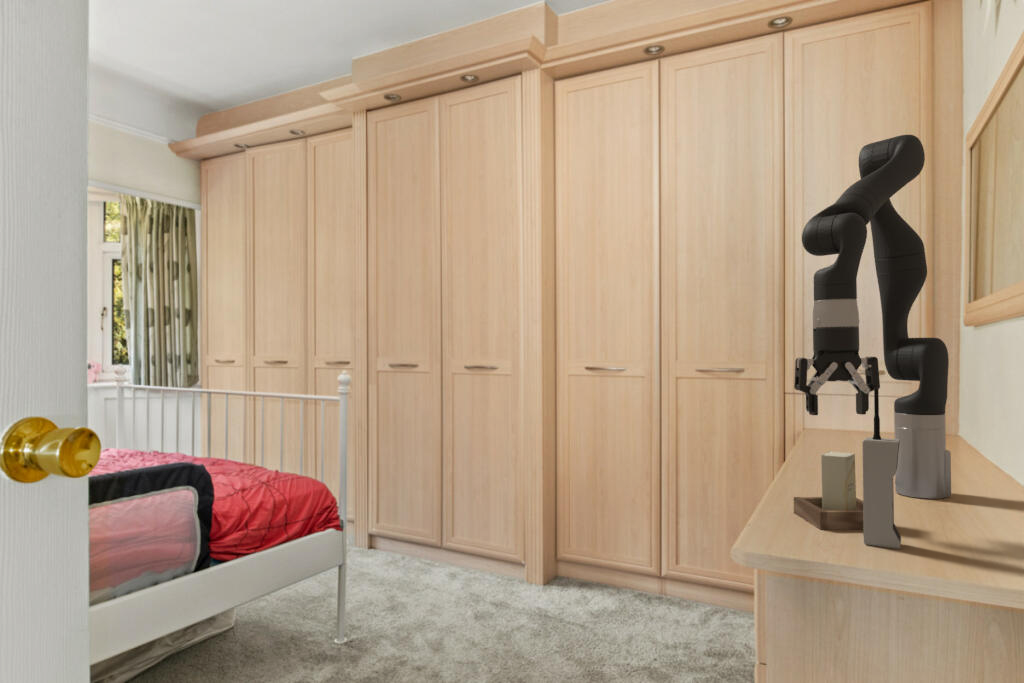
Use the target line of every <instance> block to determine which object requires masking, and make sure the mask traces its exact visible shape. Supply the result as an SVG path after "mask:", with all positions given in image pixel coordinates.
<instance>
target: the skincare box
mask: <svg viewBox="0 0 1024 683" xmlns="http://www.w3.org/2000/svg"><path fill="white" fill-rule="evenodd" d="M855 454H856V453H855V452H842V451H832V450H831V451H828V452H826V453H825V452H824V453H823V454H821V455H820V458H821V459H820V461H821V462H820V463H821V464H820V465H821V466H820V467H821V497H822V510H856V498H857V483H856V482H857V480H856V479H857V478H856V455H855Z"/></svg>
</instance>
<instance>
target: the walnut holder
mask: <svg viewBox="0 0 1024 683" xmlns="http://www.w3.org/2000/svg"><path fill="white" fill-rule="evenodd" d="M793 514H795V515H796V514H797V517H799V518H802V520H804V521H806V522H808V523H809V524H811V525H812V524H813V525H812V526H814V527H816V528H818V529H819V531H821V530H824V531H825V530H832V531H833V530H834V531H835V530H839V531H840V530H842V531H843V530H848V531H850V530H852V531H853V530H855V531H856V530H858V531H859V530H862V531H864V520H863V500H862V499H860V498H858V497H856V510H822V496H793Z"/></svg>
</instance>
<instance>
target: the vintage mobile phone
mask: <svg viewBox="0 0 1024 683" xmlns="http://www.w3.org/2000/svg"><path fill="white" fill-rule="evenodd" d="M879 393H880V392H879V389H878V388H874V391H873V398H874V400H873V401H874V408H873V409H874V413H873V414H874V416H873V436H872V437H867V436H866V437H865V438H864V439H863V441H862V444H861V445H862V499H863V500H862V501H863V520H864V530H863V543H864V545H866V546H873V547H877V548H878V547H881V548H887V549H893V550H899V549H901V544H902V536H901V534H900V532H899V530H898V529H897V526H896V525H895V512H894V511H895V507H894V506H895V504H894V503H895V501H894V499H895V498H894V491H895V490H894V477H895V473H896V470H897V464H898V453H899V442H900V439H895V438H884V437H883V438H882V436H881V419H880V414H879V413H880V407H879V406H880V405H879V403H880V402H879V397H880V396H879Z"/></svg>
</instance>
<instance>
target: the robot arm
mask: <svg viewBox="0 0 1024 683" xmlns="http://www.w3.org/2000/svg"><path fill="white" fill-rule="evenodd" d="M925 154H926V153H925V148H924V145H923V144H922V142H921V140H920V139H919V137H917V136H916V135H914V134H901V135H898V136H897V135H896V136H894V137H889V138H886V139H882V140H879V141H875V142H874V141H873V142H871V143H868V144H866V145H863V146H862V148H861V149H860V151H859V155H858V170H859V176H860V179H859V180H857V181H856V182H854V183H852V184H851V185H850V186H849V187H847V189H846V190H845V191H844V192H843V193H842V194H841V195H840V196H839V197H838V198H837V200H836V201H835V202H834V203H833V204H831V205H829V206H828V207H825V208H824V209H823V210H821V211H820V212H818V213H817V214H815V215H813V216H812V217H811V218H810V219H809V220H808V221H807V223H806V224H805V225H804V228H803V230H802V233H801V243H802V247H803V248H804V250H805V251H806V252H808V254H810V255H812V256H816V257H823V256H831V255H838V256H837V258H836V259H835V261H834V263H833V264H831V265H828V266H827V267H823V268H820V269H818V270H816V271H815V273H814V274H813V307H812V349H813V356H812V358H806V357H797V358H795V362H794V363H795V364H794V386H793V387H794V389H795V390H796V391H800V392H802V393H804V394H805V409H806V412H808V413H809V415H810V416H818V415H819V401H818V400H819V398H818V397H819V396H818V394H817V392H818V391H819V390H820V388H821V387H822V386H824V384H825V383H826V382H837V381H838V382H848V383H849V384H850V385H851V386H852V387H853V388H854V389H855V391H856V393H855V412H856V414H857V415H862V416H863V415H866V414H867V412H868V411H869V409H870V404H869V403H870V402H869V399H870V398H869V395H870V393H871V392H874V388H878V390H879V389H881V385H880V384H881V383H880V371H879V368H880V367H879V360H878V357H877V356H865V357H861V356H860V354H859V352H860V316H859V315H860V314H859V307H858V300H857V299H858V289H857V288H858V287H857V286H858V284H857V277H858V272H859V268H860V263H861V260H862V257H863V256H862V255H863V252H864V249H865V245H866V242H867V238H868V227H867V225H868V224H869V223H870V230H871V236H872V238H871V239H872V246H873V247H872V248H873V258H874V266H875V272H876V273H875V274H876V278H877V285H878V291H879V299H880V307H881V317H882V318H881V319H882V341H883V342H882V343H883V344H882V345H883V346H882V347H883V348H882V349H883V358H884V359H883V360H884V366H885V369H886V372H887V373H888V375H889V376H890V378H892V379H893V380H895V381H910V382H912V381H914V382H919V385H918V389H917V390H916V391H914V392H912V393H911V394H908V395H906V396H901V397H898V398H896V399H895V400H894V403H893V410H894V412H893V416H894V417H893V418H894V422H893V423H894V439H900V442H899V453H898V464H897V470H896V473H895V475H894V477H895V479H894V485H895V486H894V488H895V490H894V491H895V493H897V494H899V495H903V496H906V497H913V498H918V499H919V498H920V499H944V498H952V459H951V458H952V456H951V455H952V453H951V451H950V450H948V449H947V438H946V437H947V436H946V435H947V433H946V432H947V431H946V406H947V401H948V384H949V382H948V381H949V368H950V367H949V366H950V365H949V362H950V361H949V352H948V351H949V350H948V348H947V345H946V343H945V342H944V341H943V340H942V339H941V338H939V337H909V332H908V322H909V320H908V319H909V314H910V312H911V310H912V307H913V305H914V303H915V301H916V300H917V298H918V296H919V294H920V292H921V291H922V288H923V286H924V284H925V283H926V281H927V280H926V279H927V276H928V266H927V258H926V257H927V256H926V250H925V244H924V242H923V240H922V238H921V237H920V235H919V234H918V233H917V231H915V230H914V229H913V227H912V226H911V225H910V224H909V223H908V222H907V221H906V220H904V218H903V217H901V215H900V214H899V213H898V211H897V210H896V208H894V206H893V203H892V201H891V198H892V197H893V196H894V195H895V194H897V193H898V192H899V191H900V190H902V189H903V188H904V187H905V186H906V185H907V184H909V183H911V181H913V180H914V179H915V178H917V177H918V176H919V175H920V173H921V172H922V170H923V168H924V165H925V161H926V160H925V157H926V156H925ZM811 366H812V367H813V368H814V370H815V372H814V373H813V375H812V376H811V378H810V380H809V381H808V371H809V370H810V369H811ZM860 366H862V368H863V370H864V373H865V374H864V375H865V381H864V378H863V377H862V376H861V375H860V373H859V371H858V369H859V368H860Z"/></svg>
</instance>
